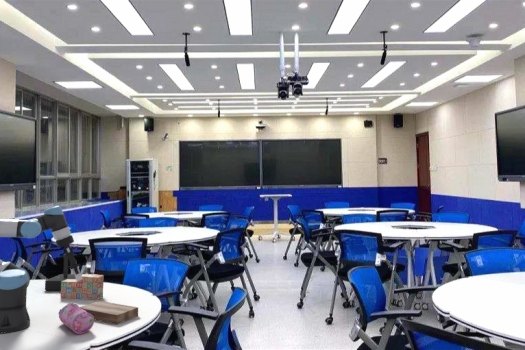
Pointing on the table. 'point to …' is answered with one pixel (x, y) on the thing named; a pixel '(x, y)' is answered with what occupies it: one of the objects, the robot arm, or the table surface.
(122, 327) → the table surface
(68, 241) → the robot arm
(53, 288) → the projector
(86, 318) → the pencil case
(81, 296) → the stack of blocks
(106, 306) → the walnut riser
